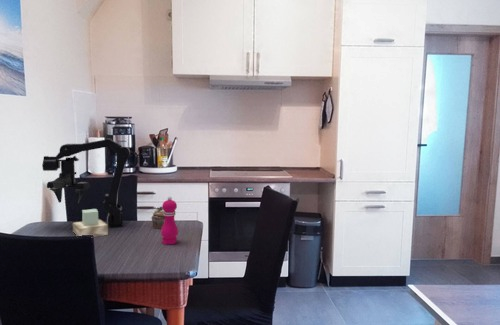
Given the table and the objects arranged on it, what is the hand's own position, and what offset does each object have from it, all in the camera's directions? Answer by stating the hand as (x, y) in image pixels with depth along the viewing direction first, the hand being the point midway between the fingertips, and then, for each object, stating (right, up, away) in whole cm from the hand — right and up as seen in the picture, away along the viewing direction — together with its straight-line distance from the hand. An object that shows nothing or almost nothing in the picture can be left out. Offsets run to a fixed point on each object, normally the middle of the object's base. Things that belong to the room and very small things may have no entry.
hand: (68, 202), depth 179 cm
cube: (+14, -9, -8) cm, 18 cm away
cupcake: (+43, -13, +6) cm, 45 cm away
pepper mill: (+52, -15, -18) cm, 57 cm away
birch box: (+13, -14, -7) cm, 21 cm away
